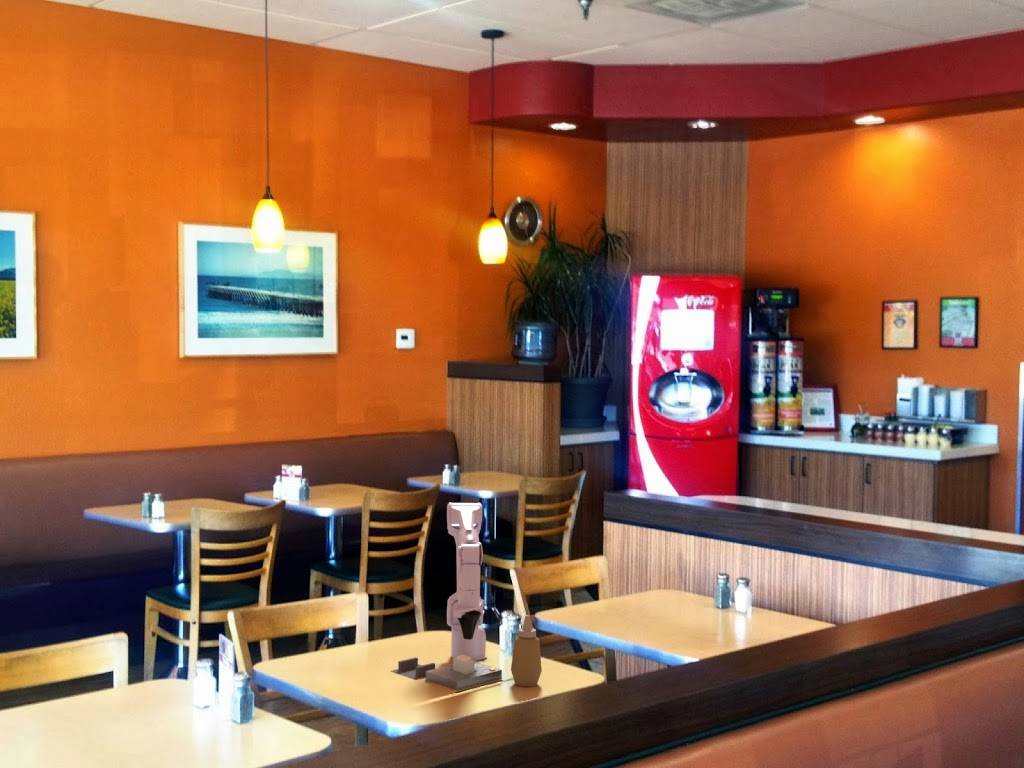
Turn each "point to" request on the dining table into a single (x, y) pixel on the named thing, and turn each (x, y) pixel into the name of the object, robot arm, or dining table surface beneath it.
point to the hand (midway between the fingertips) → (468, 638)
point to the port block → (464, 676)
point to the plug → (463, 664)
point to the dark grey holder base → (413, 668)
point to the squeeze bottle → (526, 656)
